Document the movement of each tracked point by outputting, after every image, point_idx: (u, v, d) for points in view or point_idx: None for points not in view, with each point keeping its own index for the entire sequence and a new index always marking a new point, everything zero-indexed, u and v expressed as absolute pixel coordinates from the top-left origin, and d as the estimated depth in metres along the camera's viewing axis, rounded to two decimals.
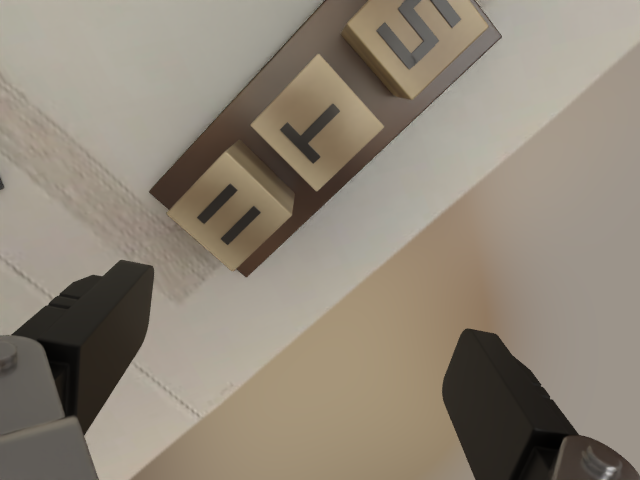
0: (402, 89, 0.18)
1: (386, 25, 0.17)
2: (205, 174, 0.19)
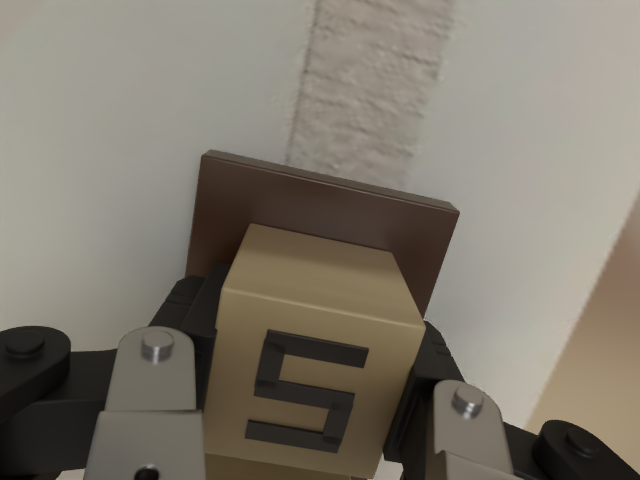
0: (347, 473, 0.10)
1: (256, 420, 0.09)
2: None
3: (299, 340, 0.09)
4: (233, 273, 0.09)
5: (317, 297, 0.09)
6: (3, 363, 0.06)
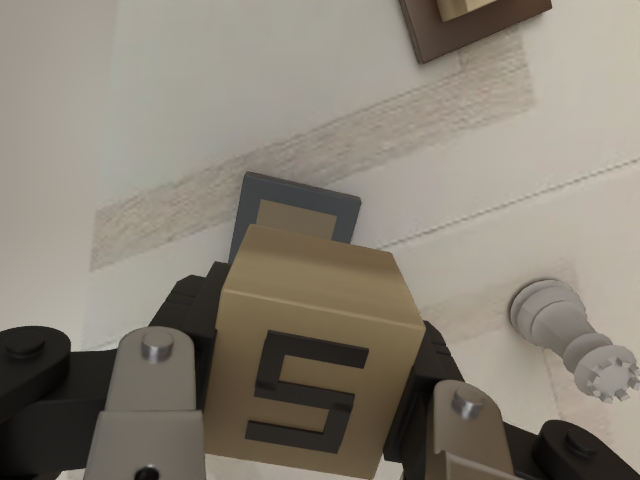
0: (347, 473, 0.10)
1: (256, 420, 0.09)
2: None
3: (299, 341, 0.09)
4: (233, 274, 0.09)
5: (317, 297, 0.09)
6: (2, 363, 0.06)
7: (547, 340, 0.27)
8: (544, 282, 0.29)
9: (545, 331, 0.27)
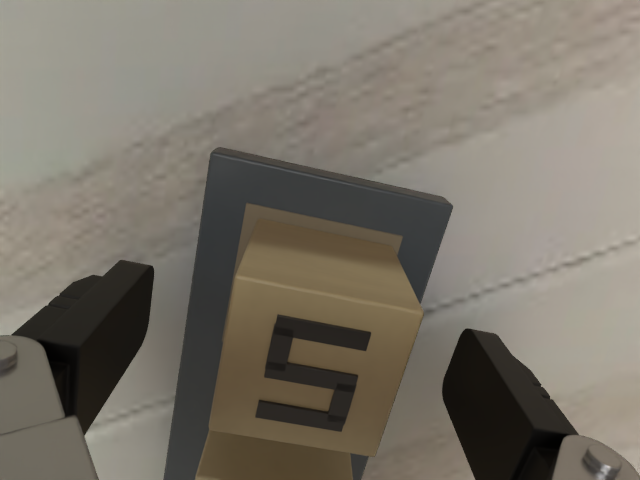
0: None
1: (265, 400, 0.10)
2: None
3: (307, 325, 0.09)
4: (245, 263, 0.10)
5: (323, 285, 0.09)
6: None
7: None
8: None
9: None
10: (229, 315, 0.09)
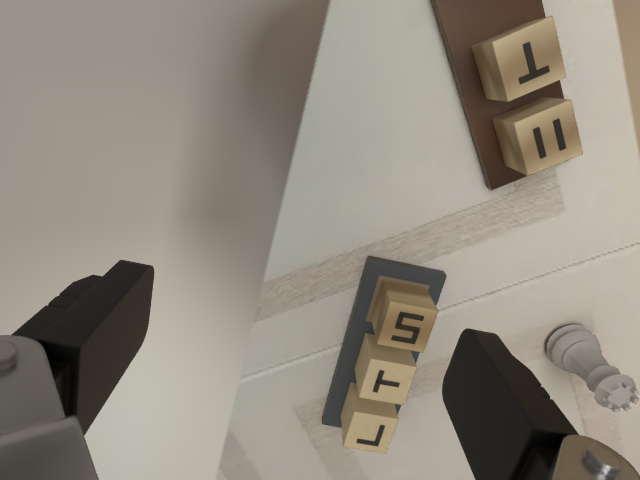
0: None
1: (394, 335, 0.36)
2: (519, 141, 0.31)
3: (407, 314, 0.35)
4: (390, 297, 0.35)
5: (411, 303, 0.35)
6: None
7: (574, 368, 0.39)
8: (570, 326, 0.41)
9: (572, 362, 0.39)
10: (387, 311, 0.35)
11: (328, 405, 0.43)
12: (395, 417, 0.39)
